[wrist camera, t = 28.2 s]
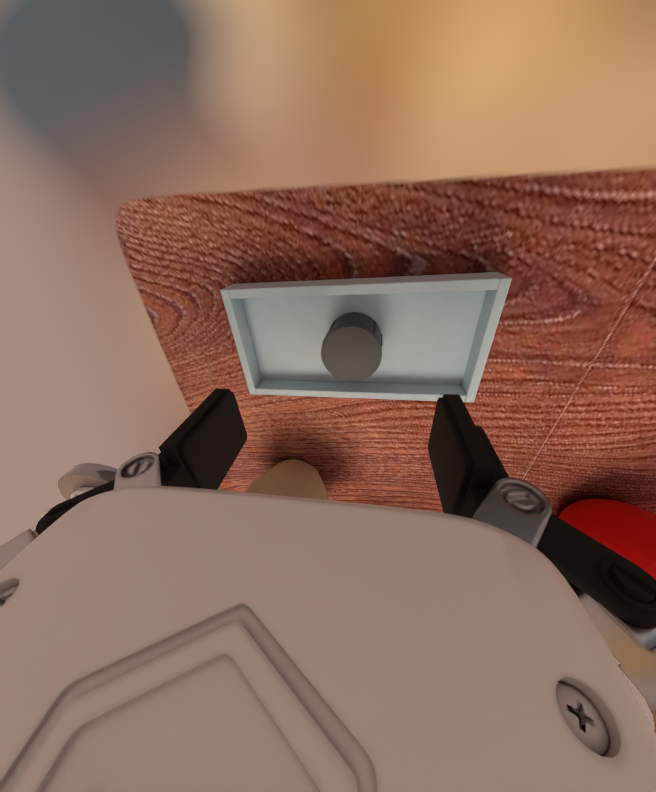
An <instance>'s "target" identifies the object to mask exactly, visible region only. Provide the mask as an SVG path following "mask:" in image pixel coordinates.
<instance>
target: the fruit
mask: <svg viewBox="0 0 656 792" xmlns="http://www.w3.org/2000/svg"><path fill="white" fill-rule="evenodd" d="M558 518H560V519H562V520H563V521H565V522H567V523H568V524H570V525H571V526H573V527H575V528H576V529H578V530H580V531H581V532H583V533H585V534H586V535H588V536H590V537H591V538H593V539H595V540H596V541H598V542H600V543H601V544H603V545H605V546H606V547H608V548H610V549H611V550H613V551H614V552H616V553H618V554H619V555H621V556H623V557H624V558H626V559H628V560H629V561H631V562H633V563H634V564H636V565H637V566H639V567H640V568H642V569H643V570H645V571H646V572H647V573H649V574H650V575H651V576H652V577H653V578H654V579H655V580H656V514H654V513H651V512H649V511H647V510H645V509H643V508H640V507H637V506H634V505H631V504H628V503H624V502H621V501H617V500H607V499H583V500H580V501H577V502H575V503H573V504H571V505H569V506H567V507H566V508H565V509H564V510H563V511H562V512H561V513H560V515H559V517H558Z"/></svg>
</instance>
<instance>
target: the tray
mask: <svg viewBox="0 0 656 792" xmlns="http://www.w3.org/2000/svg"><path fill="white" fill-rule="evenodd" d="M511 280H512V278H510V277H508V276H506V275H503V274H501V273H499V272H487V273H465V274H443V275H421V276H398V277H376V278H354V279H331V280H309V281H287V282H264V283H242V284H233V285H231V286H228V287H226V288H224V289H221V290H220V292H221V295H222V299H223V302H224V305H225V309H226V312H227V316H228V319H229V323H230V326H231V330H232V333H233V337H234V340H235V344H236V347H237V351H238V354H239V358H240V361H241V365H242V368H243V371H244V375H245V378H246V382H247V385H248V389H249V392H250V394H260V395H287V396H314V397H341V398H368V399H395V400H422V401H437V400H438V398H439V397H443V395H444V394H458V395H460V397H461V399H462V401H463V402H474V400H475V396H476V393H477V390H478V387H479V384H480V380H481V377H482V374H483V371H484V367H485V364H486V361H487V358H488V354H489V351H490V348H491V345H492V341H493V338H494V335H495V332H496V329H497V325H498V322H499V319H500V316H501V312H502V309H503V306H504V303H505V299H506V296H507V293H508V290H509V287H510V283H511ZM351 312H357V313H364V314H365V315H367V316H369V317H371V318H372V319H373V320H374V321H376V323H377V324H378V326H379V328H380V331H381V334H382V343H383V346H382V359H381V363H380V365H379V367H378V369H377V370H376V371H375V372H374V373H373V374H372V375H371V376H369V377H368V378H366V379H364V380H360V381H354V382H350V381H344V380H341V379H338V378H336V377H335V376H333V375H332V374H331V373H330V372H329V371H328V370H327V369H326V367H325V366H324V364H323V361H322V358H321V348H322V343H323V340H324V338H325V336H326V334H327V332H328V331H329V329H330V327H331V325H332V323H333V322H334V320H336V319H337V318H338V317H340V316H342V315H344V314H347V313H351Z"/></svg>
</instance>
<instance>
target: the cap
mask: <svg viewBox="0 0 656 792" xmlns="http://www.w3.org/2000/svg"><path fill="white" fill-rule="evenodd" d="M382 346H383V343H382V334H381V331H380V328H379V326H378V324H377V323H376V321H374V320H373V319H372V318H371V317H369V316H367V315H365V314H364V313H357V312H351V313H347V314H344V315H342V316H340V317H338V318H337V319H336V320H334V322H333V323H332V325H331V327H330V329H329V331H328V332H327V334H326V336H325V338H324V340H323V343H322V348H321V358H322V361H323V364H324V366H325V367H326V369H327V370H328V371H329V372H330V373H331V374H332V375H333V376H335V377H336V378H338V379H341V380H344V381H350V382H354V381H360V380H364V379H366V378H368V377H369V376H371V375H372V374H373V373H374V372H375V371H376V370H377V369H378V367H379V365H380V363H381V359H382Z"/></svg>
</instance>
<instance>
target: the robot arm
mask: <svg viewBox="0 0 656 792" xmlns="http://www.w3.org/2000/svg"><path fill="white" fill-rule="evenodd" d="M246 440H247V433H246V430H245V427H244V424H243V420H242V417H241V414H240V411H239V408H238V405H237V402H236V399H235V395H234V393H233V392H231V391H230V390H229V389H215V390H214V391H213V392H212V393H211V394H210V395H209V396H208V397H207V398H206V399H205V400H204V401H203V402H202V403H201V404H200V406H199V407H198V408H197V409H196V410H195V411H194V412H193V413H192V414H191V415H190V416H189V417H188V418H187V419H186V420H185V421H184V422H183V423H182V424H181V425H180V426H179V427H178V428H177V429H176V430H175V431H174V432H173V433H172V434H171V435H170V436H169V437H168V439H166V440H165V442H164V443H163V444H162V445H161V446H160V447H159V449H160V451H161V453H160V454H159V455H157V454H156V453H153V452H147V453H142V454H139V455H136V456H134V457H132V458H130V459H129V460H127V461H126V462H124V463H123V464H122V465H121V466H120V467H119V469H118V470H117V472H116V475H115V479H114V480H112V481H110V482H107V483H105V484H103V485H101V486H98V487H96V488H95V487H81V488H78V489H77V490H76V491H75V492H74V493H72V494H71V497H70V498H71V499H69V500H66V501H64V502H63V503H60V504H58V505H56V506H55V507H53V508H49V509H47V510H46V511H44V513H43V514H42V518H41V520H40V521H39V522H38V524H37V526H36V530H34V531H32V530H31V529H28V530H27V531H25V532H23V533H22V534H20V535H18V536H17V537H15V538H13V539H12V540H10V541H8V542H7V543H5V544H4V545H2V546H0V792H656V580H655V579H654V578H653V577H652V576H651V575H650V574H649V573H647V572H646V571H645V570H643V569H642V568H640V567H639V566H637V565H636V564H634V563H633V562H631V561H629V560H628V559H626V558H624V557H623V556H621V555H619V554H618V553H616V552H614V551H613V550H611V549H610V548H608V547H606V546H605V545H603V544H601V543H600V542H598V541H596V540H595V539H593V538H591V537H590V536H588V535H586V534H585V533H583V532H581V531H580V530H578V529H576V528H575V527H573V526H571V525H570V524H568V523H567V522H565V521H563V520H562V519H560V518H558V517H557V516H555V515H553V514H552V505H551V502H550V500H549V499H548V497H547V496H546V495H545V494H544V493H543V492H542V491H541V490H540V489H539V488H537V487H536V486H534V485H532V484H531V483H529V482H526V481H524V480H521V479H517V478H509V476H508V474H507V473H506V471H505V469H504V467H503V465H502V463H501V461H500V460H499V458H498V456H497V454H496V452H495V450H494V448H493V447H492V445H491V443H490V441H489V439H488V437H487V436H486V434H485V432H484V430H483V429H482V427H480V426H475V424H474V422H473V421H472V419H471V417H470V415H469V413H468V411H467V409H466V407H465V405H464V403H463V401H462V399H461V397H460V395H458V394H444V395H443V397H439V398H438V400H437V405H436V410H435V415H434V419H433V424H432V429H431V434H430V439H429V444H428V450H429V455H430V459H431V463H432V467H433V471H434V476H435V480H436V484H437V488H438V492H439V496H440V500H441V504H442V508H443V512H444V513H441V512H435V511H428V510H419V509H410V508H402V507H393V506H384V505H374V504H364V503H353V502H343V501H333V500H323V499H312V498H302V497H291V496H280V495H269V494H258V493H247V492H236V491H224V490H217V489H218V487H219V486H220V484H221V482H222V481H223V479H224V477H225V476H226V474H227V472H228V471H229V469H230V467H231V466H232V464H233V462H234V460H235V459H236V457H237V455H238V454H239V452H240V450H241V449H242V447H243V445H244V444H245V442H246ZM614 657H615V658H616V659H617V660H618V661H619V662H620V664H619V665H618V664H617V662H616V660H615V658H614ZM622 672H623V673H624V674H625V675H626V676H627V677H628V678H629V679H630V680H631V681H632V683H633V684H634V685H635V686H636V688H637V689H638V690H639V691H640V693H641V694H642V696H643V697H644V698H645V700H646V702H647V704H648V706H649V708H650V710H651V712H652V714H653V719H654V725H655V730H653V728H652V726H651V724H650V722H649V720H648V718H647V716H646V715H645V713H644V711H643V709H642V707H641V705H640V704H639V702H638V700H637V698H636V696H635V695H634V693H633V691H632V689H631V687H630V686H629V684H628V682H627V681H626V678H625V676H624V675H623V673H622ZM557 683H560V684H557Z"/></svg>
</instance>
